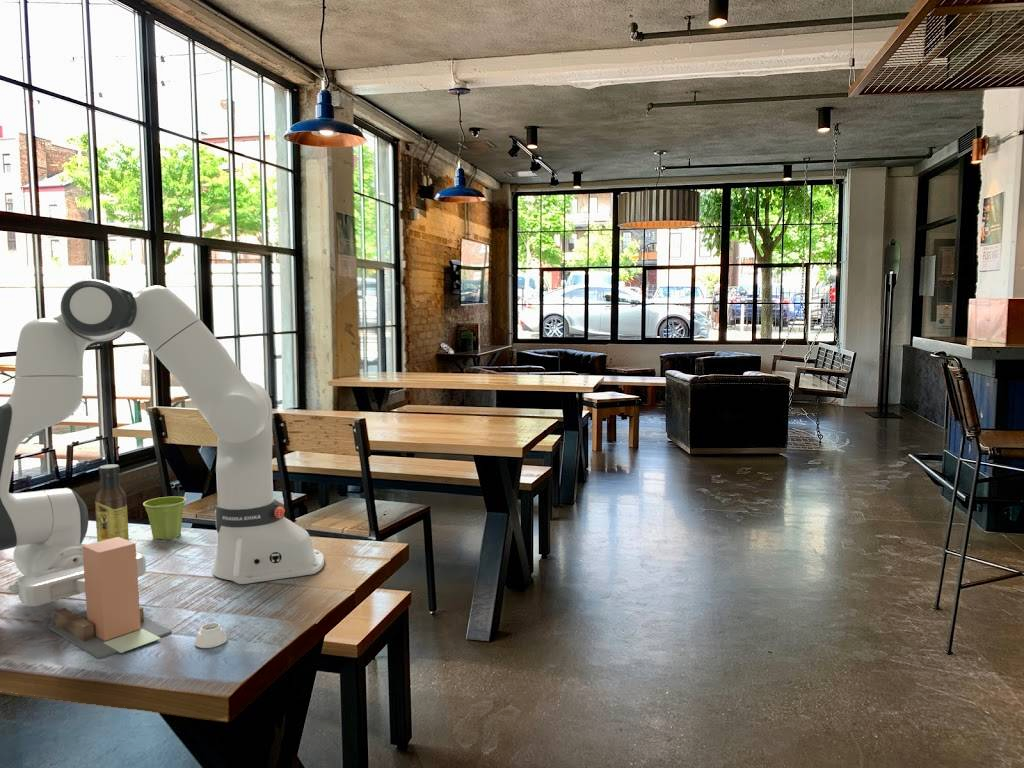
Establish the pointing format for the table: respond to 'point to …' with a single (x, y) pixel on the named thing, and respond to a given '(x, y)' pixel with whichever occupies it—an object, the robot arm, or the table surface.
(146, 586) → the table surface
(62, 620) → the chute rails
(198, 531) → the table surface
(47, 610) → the table surface
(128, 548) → the block
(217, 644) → the white jar
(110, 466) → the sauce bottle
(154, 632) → the chute mat
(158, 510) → the plant pot
